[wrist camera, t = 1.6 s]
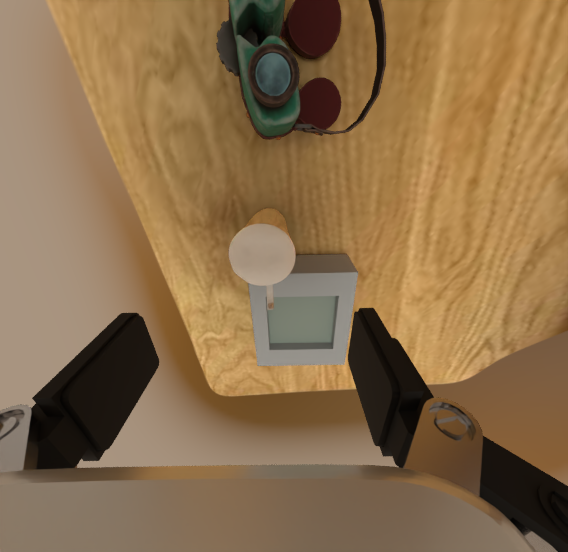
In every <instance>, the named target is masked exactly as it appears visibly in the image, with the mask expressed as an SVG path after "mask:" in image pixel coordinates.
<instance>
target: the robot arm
mask: <svg viewBox="0 0 568 552" xmlns="http://www.w3.org/2000/svg"><path fill="white" fill-rule="evenodd" d="M348 362H349V366H350V369H351V373H352V376H353V379H354V382H355V385H356V388H357V391H358V395H359V397H360V401H361V404H362V407H363V410H364V413H365V417H366V420H367V423H368V426H369V429H370V432H371V435H372V439H373V442H374V444H375V445H376V446H380V449H381V451H382V455H383V456H393V458H394V461H395V464H396V465H397V466H399V467H389V466H375V465H226V466H225V465H222V466H159V467H157V466H156V467H104V468H77V464H78V463H79V461H80V460H81V458H82V459H83V461H99V460H100V458H101V456H102V455H103V453H104V451H105V450H107V449H109V448H110V446H111V445H112V443H113V442H114V440H115V438H116V437H117V435H118V433H119V432H120V430H121V428H122V427H123V425H124V423H125V422H126V420H127V418H128V417H129V415H130V413H131V412H132V410H133V408H134V407H135V405H136V403H137V402H138V400H139V398H140V397H141V395H142V393H143V391H144V390H145V388H146V387H147V385H148V383H149V382H150V380H151V378H152V377H153V375H154V373H155V371H156V369H157V368H158V366H159V358H158V356H157V354H156V351H155V348H154V345H153V343H152V340H151V338H150V335H149V332H148V330H147V327H146V325H145V322H144V319H143V318H142V317H141V316H139V314H138V313H121V314H120V315H119V316H118V317H117V318H116V319H115V320H114V321H113V322H111V323H110V324H109V325H108V326H107V327H106V328H105V329H104V330H103V331H102V332H101V333H100V334H99V335H98V336H97V337H96V338H95V339H94V340H93V341H92V342H91V343H90V344H88V346H86V347H85V348H84V349H83V350H82V351H81V352H80V353H79V354H78V355H77V356H76V357H75V358H74V359H73V360H72V361H71V362H70V363H69V364H67V366H65V367H64V368H63V369H62V370H61V371H60V372H59V373H58V374H57V375H56V376H55V377H54V378H53V379H52V380H51V381H50V382H49V383H48V384H47V385H46V386H44V387H43V388H42V389H41V390H40V391H39V392H38V393H37V394H36V395H35V396H34V397H33V398H32V399H33V400H34V401H35V402H36V404H35V405H34V406H33V407H32V408H31V407H29V406H28V405H16V406H12V407H9V408H6V409H3V410H1V411H0V552H568V486H567V485H565V484H563V483H561V482H560V481H558V480H556V479H555V478H553V477H551V476H550V475H548V474H546V473H545V472H543V471H541V470H540V469H538V468H536V467H535V466H533V465H531V464H530V463H528V462H526V461H525V460H523V459H521V458H519V457H518V456H516V455H515V454H513V453H511V452H510V451H508V450H506V449H505V448H503V447H501V446H499V445H498V444H496V443H494V442H493V441H491V440H489V439H487V438H486V437H484V436H483V434H482V429H481V427H480V425H479V423H478V422H477V420H476V419H475V418H474V417H473V415H472V414H471V413H469V412H468V411H467V410H466V409H465V408H464V407H462V406H460V405H459V404H457V403H455V402H453V401H450V400H448V399H444V398H439V397H438V398H434V397H433V395H432V393H431V392H430V390H429V389H428V387H427V385H426V384H425V382H424V381H423V379H422V377H421V376H420V374H419V373H418V371H417V370H416V368H415V366H414V365H413V363H412V362H411V360H410V358H409V357H408V355H407V354H406V352H405V350H404V349H403V347H402V346H401V344H400V343H399V341H398V340H397V339H395V338H391V336H390V334H389V333H388V331H387V329H386V328H385V326H384V324H383V323H382V321H381V319H380V318H379V316H378V314H377V313H376V311H375V309H374V308H360V309H359V311H358V312H355V313H354V319H353V326H352V333H351V339H350V346H349V353H348Z"/></svg>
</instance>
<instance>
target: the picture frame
mask: <svg viewBox="0 0 568 552" xmlns="http://www.w3.org/2000/svg"><path fill="white" fill-rule="evenodd" d="M357 277H358V271H357V270H356V268H355V266H354V265H353V263H352V261H351V260H350V258H349V257H348V255H347V254H322V255H296V258H295V264H294V267H293V269H292V271H291V272H290V274H289V275H288V276H287V277H286V278H285V279H284V280H282V281H280V282H278V283H276V284H273V298H274V309H272V310H267V288H266V286H258V285H253V284H250V283H248V285H249V294H250V302H251V311H252V320H253V329H254V338H255V347H256V355H257V364H258V366H284V365H344V364H345V357H346V350H347V344H348V337H349V330H350V324H351V317H352V310H353V303H354V297H355V290H356V283H357Z"/></svg>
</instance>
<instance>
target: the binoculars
mask: <svg viewBox="0 0 568 552" xmlns="http://www.w3.org/2000/svg"><path fill="white" fill-rule="evenodd" d="M228 2H229V20H228V21H227V22H225V21H224V22H223V23H222V24H221V26H222V27H221V29H220V31H218V33H217V37H218V43H216V44H217V50H218V52H219V53H220V55H219V57H220V60H221V62H222V64H225V67H226V69H227V71H229V72H232V73H234V75H235V76H239V81H240V87H241V94H242V99H243V101H244V104H245V107H246V110H247V113H246V115H247V117H248V118H250V121H251V123H252V126H253V127H254V129H255V131H256V132H257V133H258V134H259V135H260V136H261V137H262V138H263V139H274V138H276V139H277V140H279V139H280V138H281V137H283V136H285V135H287V134H289V133H290V132H292V131H293V130H294V131H296V130H299V131H303V132H311V133H315V134H316V135H321V136H322V135H323V133H325V134H330V135H331V134H338V133H345V132H349V131H350V130H352V129H353V128H354V127H355V126H357V125H358V124H359V123H360V122H362V121H363V120H364V118H365V116H366V115H367V113H368V111H369V110H370V108H371V107H372V105H373V103H374V102H375V100H376V98H377V97H378V95H379V92H380V88H381V83H382V79H383V75H384V70H385V66H386V32H385V21H384V12H383V8H382V4H381V0H369V4H370V7H371V11H372V15H373V19H374V24H375V33H376V42H377V72H376V76H375V81H374V86H373V90H372V95H371V98H370V100H369V101H368V103H367V104H366V106H365V108H364V109H363V111H362V113H361V114H360V116H359V118H358V119H357V121H356V122H354V123H353V124H352V125H351V126H350V127H348V128H347V129H346V130H343V131H336V132H333V131H328V130H326V129H327V128H329V127H330V126H331V125H332V124H333V123H334V122H335V121H336V120H337V118H338V116H339V113H340V109H341V97H340V94H339V91H338V89H337V87H336V86H335V85H334V83H333V82H331V81H330V80H328V79H326V78H315V79H313V80H311V81H309V82H308V83H306V84H305V85H304V86H303V87H302V89H301V90H300V91H299V90H298V82H299V67H298V63H297V61H296V59H295V57H294V56H293V54H292V53H291V52H290V51H289V50H288V48H287V46H286V45H285V43H284V42H283V41H282V37H287V39H288V42H289V44H290V45H291V46H292V48H293V49H294V50H295V51H296V52H297V53H298V54H299V55H301V56H303V57H305V58H308V59H315V58H318V57H320V56H321V55H323V54H325V53H326V52H328V51H329V50H330V49H331V48H332V46H333V45H334V43H335V42H336V40H337V37H338V35H339V31H340V26H341V10H340V5H339V2H338V0H295V2H294V3H293V5H292V7H291V9H290V11H289V12H288V15H287V18H286V21H285V22H283V21H284V6H285V0H228ZM243 92H244V93H243ZM244 97H245V98H244ZM293 125H294V126H293ZM291 128H292V129H291Z"/></svg>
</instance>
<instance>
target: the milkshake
mask: <svg viewBox="0 0 568 552" xmlns="http://www.w3.org/2000/svg"><path fill="white" fill-rule="evenodd" d="M295 258H296V255H295V247H294V244H293V242H292V240H291V237H290V235H289V232H288V229H287V226H286V222H285V218H284V216H283V215H282V214H281V213H280V212H279V211H278V210H277V209H272V208H264V209H262V210H261V211H259V212H257V213H256V214H255V215H254V216H253V217H252V218H251V220H250V221H249V222H248V223H247V224H246V225H245V226H244V227H243V228H242V229H241V230H240V231H239V232H238V233H237V234H236V235H235V237H234V238H233V240H232V241H231V244H230V247H229V259H230V263H231V266H232V269H233V270H234V272H235V273H236V274H237V275H238V276H239V277H241V278H242V279H243V280H245V281H246V282H248V283H250V284H253V285H258V286H266V288H267V310H272V309H274V298H273V284H276V283H278V282H280V281H282V280H284V279H285V278H286V277H287V276H288V275H289V274H290V272H291V271H292V269H293V267H294V264H295Z"/></svg>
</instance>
